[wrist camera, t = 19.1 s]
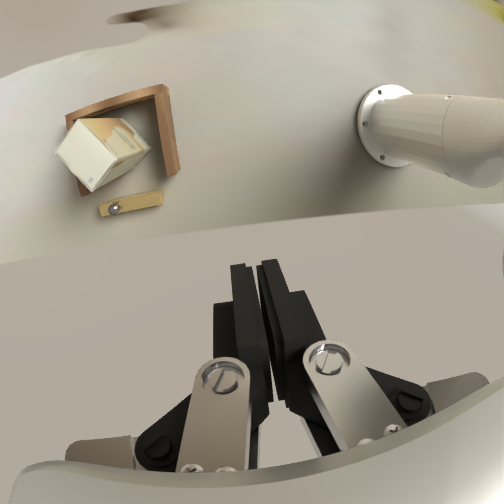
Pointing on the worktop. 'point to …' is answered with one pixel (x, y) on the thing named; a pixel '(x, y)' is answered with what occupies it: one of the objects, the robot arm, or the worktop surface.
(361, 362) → the robot arm
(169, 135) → the cradle
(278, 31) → the worktop surface
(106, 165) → the skincare box
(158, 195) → the bar
